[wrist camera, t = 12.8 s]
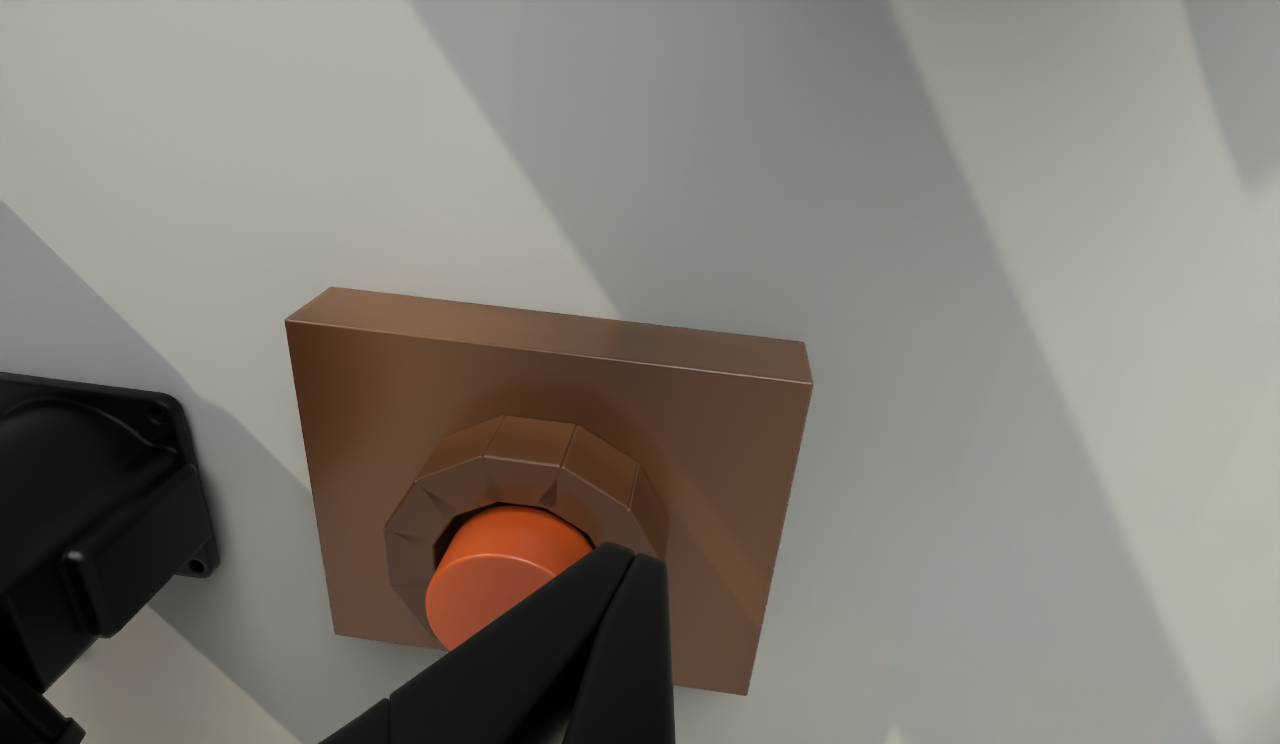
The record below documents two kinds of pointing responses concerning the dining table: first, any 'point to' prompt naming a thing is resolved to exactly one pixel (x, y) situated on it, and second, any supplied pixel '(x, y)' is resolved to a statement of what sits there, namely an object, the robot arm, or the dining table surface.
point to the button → (497, 567)
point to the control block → (547, 454)
